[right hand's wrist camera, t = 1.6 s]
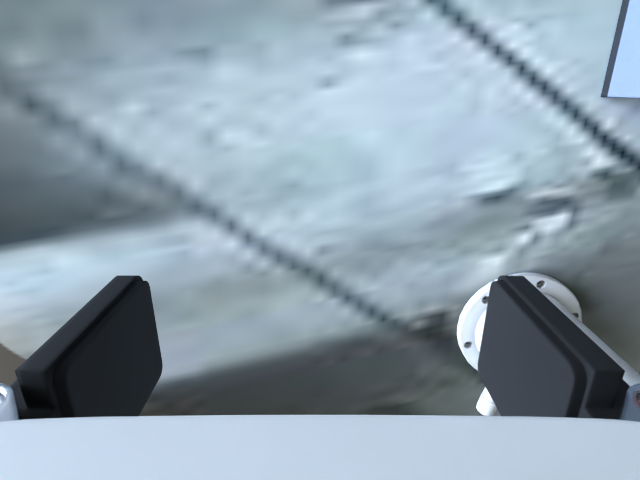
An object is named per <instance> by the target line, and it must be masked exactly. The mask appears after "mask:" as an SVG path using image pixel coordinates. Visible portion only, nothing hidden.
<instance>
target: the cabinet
mask: <svg viewBox="0 0 640 480" xmlns="http://www.w3.org/2000/svg"><path fill="white" fill-rule="evenodd" d="M601 97H628V98H640V0H623V2H622V7H621V11H620V15H619V20H618V24H617V29H616V33H615V37H614V42H613V46H612V50H611V55H610V59H609V64H608V68H607V72H606V77H605V81H604V86H603V90H602V94H601Z"/></svg>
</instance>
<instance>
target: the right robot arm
mask: <svg viewBox="0 0 640 480" xmlns="http://www.w3.org/2000/svg"><path fill="white" fill-rule="evenodd" d="M15 373H16V376H17V380H16V381H15V382H14V383H13V384H12V385H11V386H7V385H5V384H1V383H0V480H640V383H639V384H635V385H633V386H629V385H628V384H627V383H626V382H625V381H624V380H623V376H624V373H625V370H624V369H623V368H621V367H620V366H619V365H618V364H617V363H616V362H615V361H614V360H613V359H612V358H611V357H610V356H609V355H608V354H607V353H605V352H604V351H603V350H602V349H601V348H600V347H599V346H598V345H597V344H596V343H595V342H594V341H593V340H592V339H590V338H589V337H588V336H587V335H586V334H585V333H584V332H583V331H582V330H581V329H580V328H579V327H578V326H577V325H575V324H574V323H573V322H572V321H571V320H570V319H569V318H568V317H567V316H566V315H565V314H564V313H563V312H562V311H561V310H559V309H558V308H557V307H556V306H555V305H554V304H553V303H552V302H551V301H550V300H549V299H548V298H547V297H546V296H544V295H543V294H542V293H541V292H540V291H539V290H538V289H537V288H536V287H535V286H534V285H533V284H532V283H531V282H530V281H528V280H527V279H526V278H525V277H524V276H500V277H499V278H498V280H497V281H493V282H492V283H491V286H490V292H489V298H488V304H487V310H486V316H485V322H484V328H483V334H482V340H481V346H480V352H479V358H478V373H479V376H480V378H481V380H482V382H483V383H484V385H485V387H486V389H487V391H488V393H489V394H490V396H491V398H492V400H493V402H494V403H495V405H496V407H497V409H498V411H499V413H500V414H501V416H422V415H209V416H139V414H140V413H141V411H142V409H143V407H144V405H145V403H146V402H147V400H148V398H149V396H150V394H151V393H152V391H153V389H154V387H155V385H156V383H157V382H158V380H159V378H160V376H161V373H162V358H161V352H160V346H159V340H158V334H157V328H156V322H155V316H154V310H153V304H152V298H151V292H150V286H149V283H148V282H147V281H143V280H142V278H141V277H140V276H116V277H115V278H114V279H113V280H112V281H110V282H109V283H108V284H107V285H106V286H105V287H104V288H103V289H102V290H101V291H100V292H99V293H98V294H97V295H96V296H94V297H93V298H92V299H91V300H90V301H89V302H88V303H87V304H86V305H85V306H84V307H83V308H82V309H81V310H79V311H78V312H77V313H76V314H75V315H74V316H73V317H72V318H71V319H70V320H69V321H68V322H67V323H66V324H65V325H63V326H62V327H61V328H60V329H59V330H58V331H57V332H56V333H55V334H54V335H53V336H52V337H51V338H50V339H48V340H47V341H46V342H45V343H44V344H43V345H42V346H41V347H40V348H39V349H38V350H37V351H36V352H35V353H33V354H32V355H31V356H30V357H29V358H28V359H27V360H26V361H25V362H24V363H23V364H22V365H21V366H20V367H19V368H17V369H16V370H15Z"/></svg>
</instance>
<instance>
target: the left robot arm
mask: <svg viewBox="0 0 640 480" xmlns="http://www.w3.org/2000/svg"><path fill="white" fill-rule="evenodd" d="M507 276H524V277H525V278H526V279H527V280H528V281H530V282H531V283H532V284H533V285H534V286H535V287H536V288H537V289H538V290H539V291H540V292H541V293H542V294H543V295H544V296H546V297H547V298H548V299H549V300H550V301H551V302H552V303H553V304H554V305H555V306H556V307H557V308H558V309H559V310H561V311H562V312H563V313H564V314H565V315H566V316H567V317H568V318H569V319H570V320H571V321H572V322H573V323H574V324H575V325H577V326H578V327H579V328H580V329H581V330H582V331H583V332H584V333H585V334H586V335H587V336H588V337H589V338H590V339H592V340H593V341H594V342H595V343H596V344H597V345H598V346H599V347H600V348H601V349H602V350H603V351H604V352H605V353H607V354H608V355H609V356H610V357H611V358H612V359H613V360H614V361H615V362H616V363H617V364H618V365H619V366H620V367H621V368H623V369H624V370H625V373H624V376H623V380H624V381H625V382H626V383H627V384H628V385H629V386H633V385H635V384H639V383H640V374H638V373H637V372H636V371H635V370H634V369H633V368H632V367H631V366H630V365H628V364H627V363H626V362H625V361H624V360H623V359H622V358H621V357H620V356H618V355H617V354H616V353H615V352H614V351H613V350H612V349H611V348H610V347H608V346H607V345H606V344H605V343H604V342H603V341H602V340H601V339H600V338H599V337H597V336H596V335H595V334H594V333H593V332H592V331H591V330H590V329H589V328H587V327H586V326H585V325H584V324H583V323H582V311H581V308H580V305H579V302H578V300H577V299H576V297H575V296H574V294H573V293H572V292H571V291H570V290H569V289H568V288H567V287H566V286H564V285H563V284H562V283H560V282H559V281H558V280H556V279H554V278H552V277H550V276H547V275H543V274H539V273H527V272H524V273H516V274H511V275H507ZM497 280H498V279H496V280H494V281H497ZM492 282H493V281H492ZM492 282H490V283H488V284H487V285H485V286H484V287H483V288H481V289H480V290H479V291H478V292H477V293H475V294H474V295H473V296H472V297H471V299H470V300H469V301H468V303H467V304H466V305H465V307H464V309H463V311H462V313H461V315H460V318H459V322H458V325H457V338H458V343H459V346H460V348H461V351H462V353H463V354H464V356H465V358H466V359H467V361H468V362H469V363H470V364H471V365H472V366H473V367H474V368H475V369H476V370H478V358H479V352H480V346H481V340H482V334H483V328H484V322H485V316H486V310H487V304H488V298H489V292H490V286H491V283H492ZM476 408H477V410H478V411H479V412H480V413H481V414H483V415H485V416H494V414H495V412H496V410H497V407H496V405H495V403H494V402H493V400H492V398H491V396H490V394H489V393H488V391H487V389H486V387H485V389H484V391H483V392H482V394H481V396H480V398H479V401H478V403H477V406H476Z"/></svg>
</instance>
